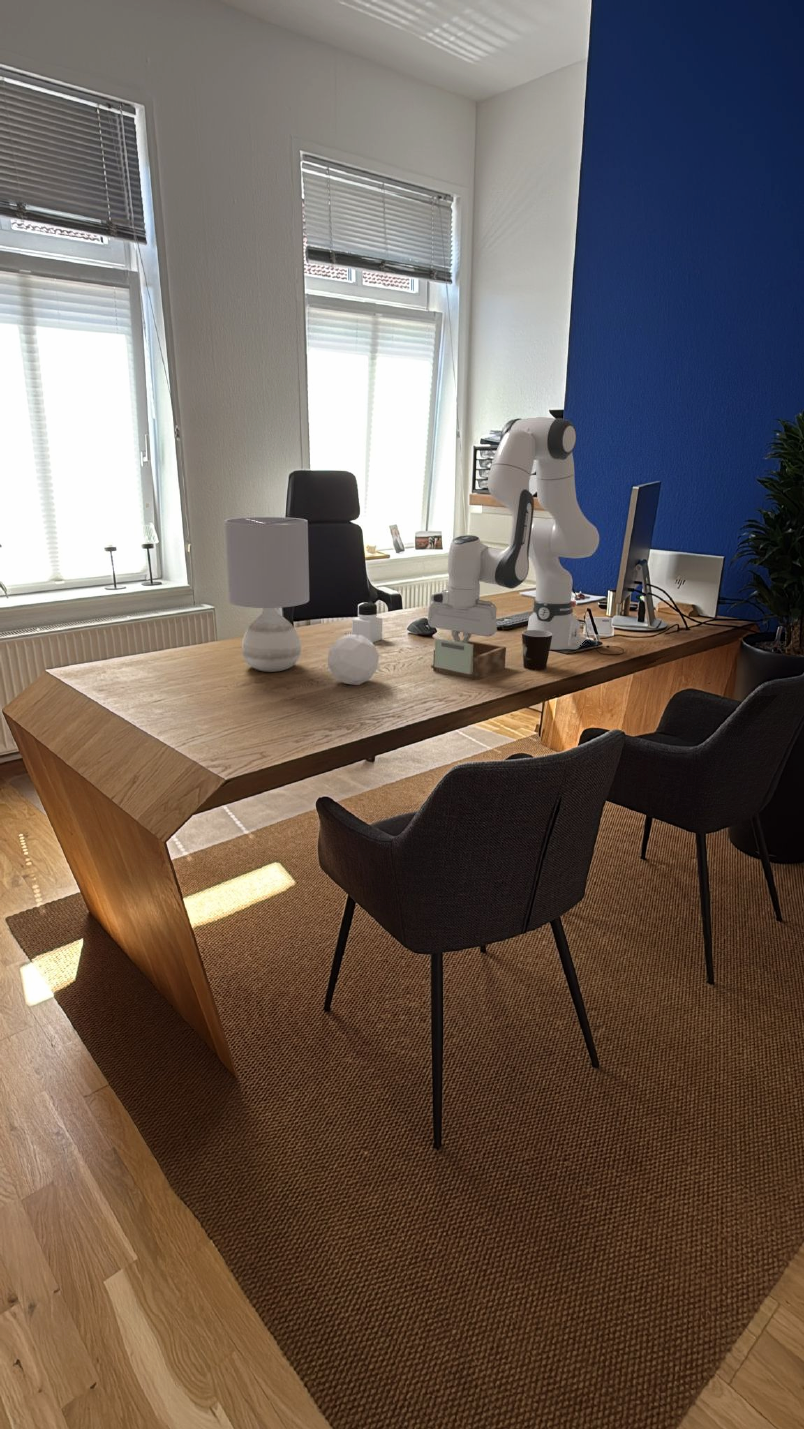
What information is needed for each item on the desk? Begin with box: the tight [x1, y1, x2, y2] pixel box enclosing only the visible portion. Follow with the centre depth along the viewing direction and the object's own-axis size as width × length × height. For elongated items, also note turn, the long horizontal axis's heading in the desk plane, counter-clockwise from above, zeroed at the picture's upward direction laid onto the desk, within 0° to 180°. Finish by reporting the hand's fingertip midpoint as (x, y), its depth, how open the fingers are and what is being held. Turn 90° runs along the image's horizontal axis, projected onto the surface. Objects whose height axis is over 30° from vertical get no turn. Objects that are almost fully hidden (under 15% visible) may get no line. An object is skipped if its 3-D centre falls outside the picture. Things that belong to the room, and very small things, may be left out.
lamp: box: [224, 516, 310, 673], centre depth 214 cm, size 22×22×40 cm
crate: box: [430, 639, 507, 680], centre depth 221 cm, size 17×14×6 cm
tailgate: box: [434, 637, 473, 674], centre depth 213 cm, size 1×12×8 cm, turn 54°
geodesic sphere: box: [327, 631, 380, 686], centre depth 206 cm, size 14×14×14 cm
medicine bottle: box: [351, 602, 383, 644], centre depth 251 cm, size 7×7×12 cm
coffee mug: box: [521, 629, 553, 671], centre depth 225 cm, size 12×9×10 cm
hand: (460, 647), depth 216 cm, fingers closed
